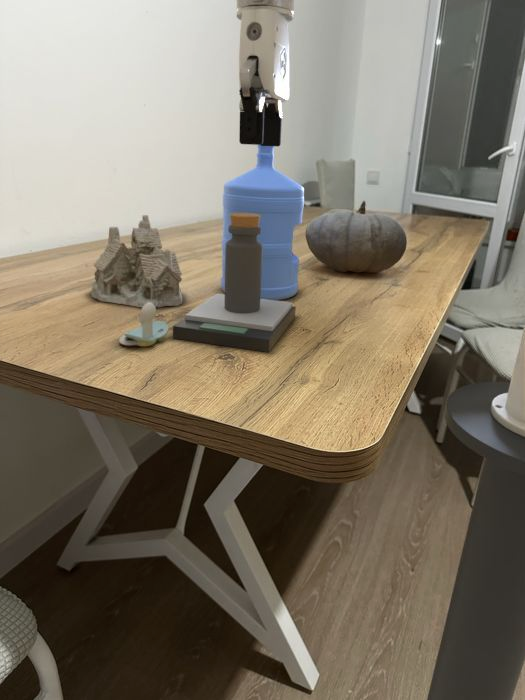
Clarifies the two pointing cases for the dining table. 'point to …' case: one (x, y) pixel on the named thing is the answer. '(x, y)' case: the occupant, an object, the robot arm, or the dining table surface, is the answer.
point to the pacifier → (146, 328)
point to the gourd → (356, 240)
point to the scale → (236, 324)
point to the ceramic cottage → (137, 270)
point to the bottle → (243, 264)
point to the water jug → (268, 222)
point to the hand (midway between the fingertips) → (261, 145)
